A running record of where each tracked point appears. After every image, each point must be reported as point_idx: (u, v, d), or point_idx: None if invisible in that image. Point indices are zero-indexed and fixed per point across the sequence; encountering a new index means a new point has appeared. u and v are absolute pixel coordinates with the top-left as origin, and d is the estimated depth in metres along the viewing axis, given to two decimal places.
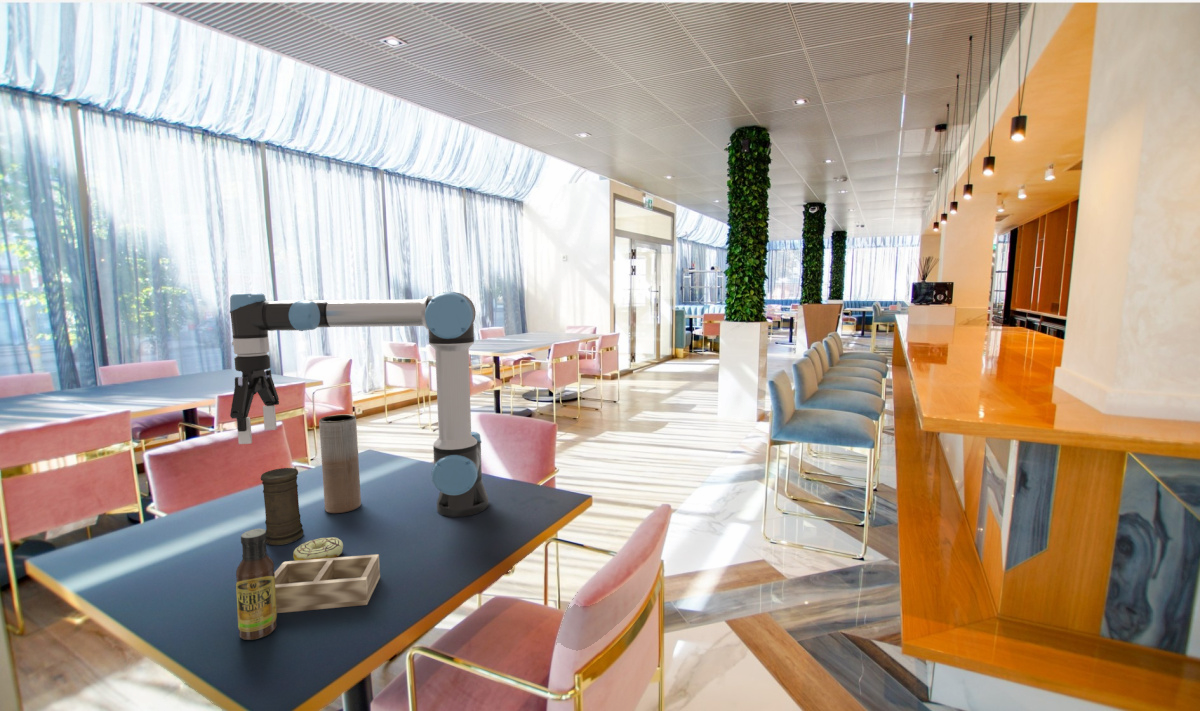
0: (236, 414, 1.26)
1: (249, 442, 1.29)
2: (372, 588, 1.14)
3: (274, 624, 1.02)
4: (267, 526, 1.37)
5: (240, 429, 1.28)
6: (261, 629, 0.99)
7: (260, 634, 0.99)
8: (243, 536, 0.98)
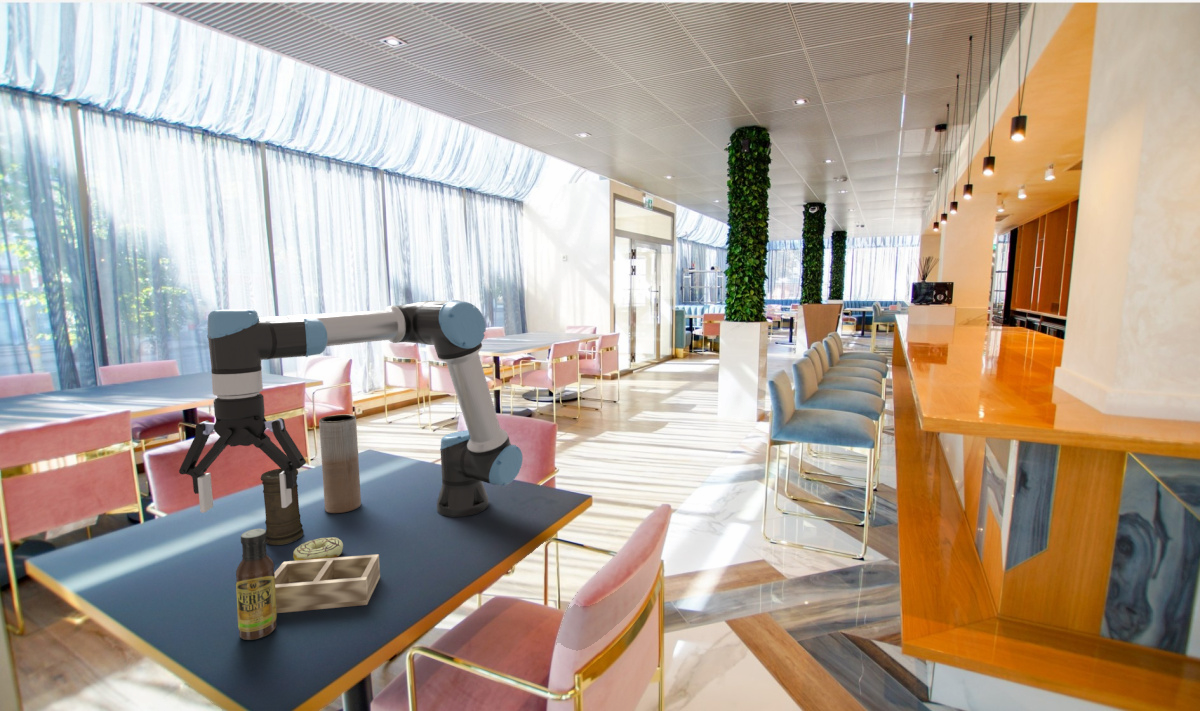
0: None
1: None
2: (372, 588, 1.14)
3: (274, 624, 1.02)
4: (267, 526, 1.37)
5: None
6: (261, 629, 0.99)
7: (260, 634, 0.99)
8: (243, 536, 0.98)
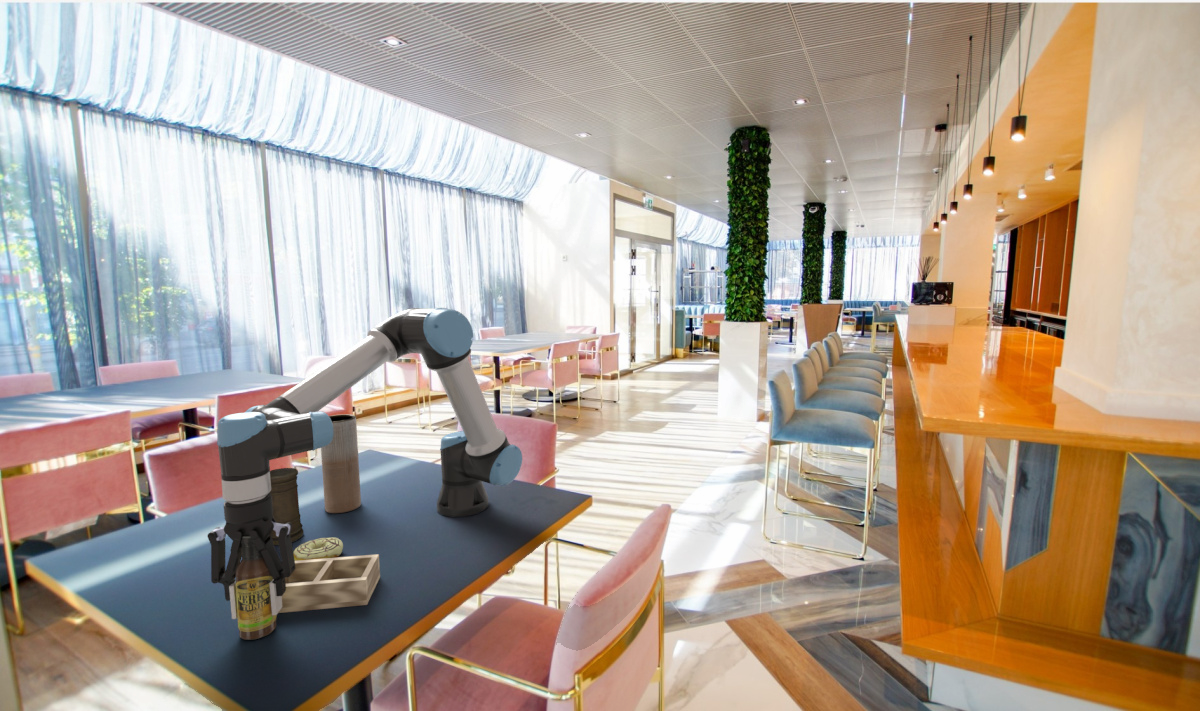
0: None
1: None
2: (372, 588, 1.14)
3: (274, 624, 1.02)
4: None
5: None
6: (261, 629, 0.99)
7: (260, 634, 0.99)
8: None
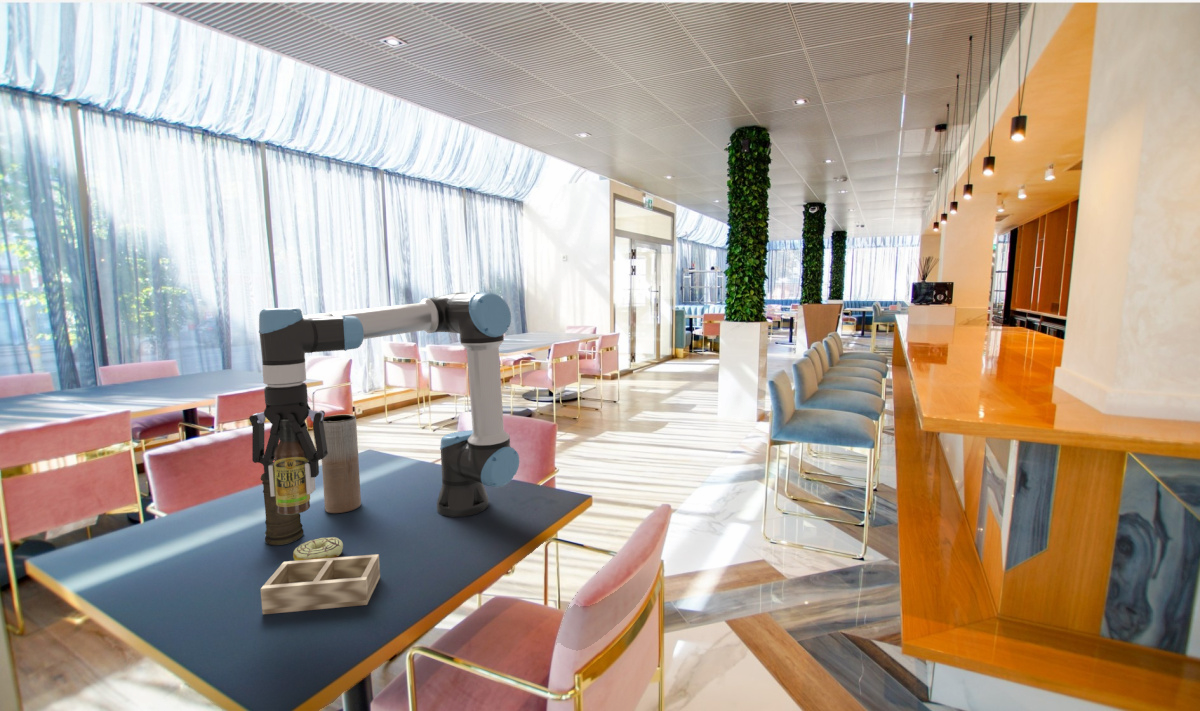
0: None
1: None
2: (372, 588, 1.14)
3: (308, 504, 1.11)
4: (267, 526, 1.37)
5: None
6: (297, 505, 1.09)
7: (296, 510, 1.08)
8: None
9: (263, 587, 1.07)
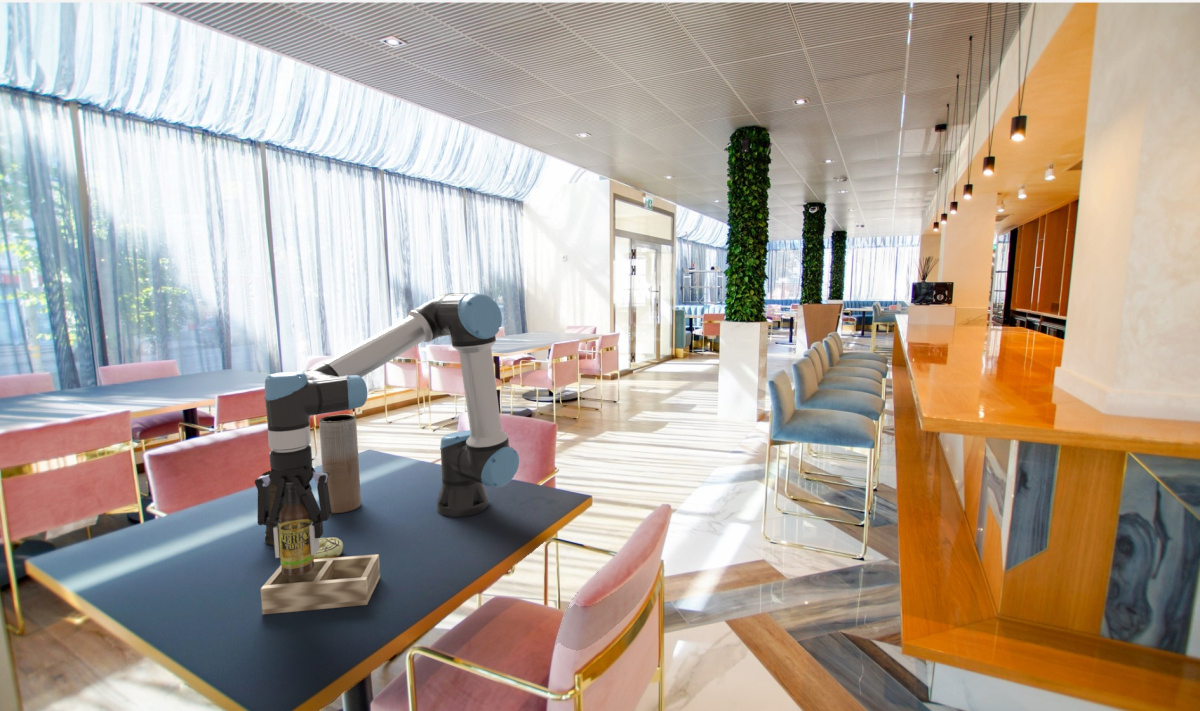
0: None
1: None
2: (372, 588, 1.14)
3: (312, 564, 1.13)
4: (267, 526, 1.37)
5: None
6: (301, 566, 1.10)
7: (301, 571, 1.10)
8: None
9: (263, 587, 1.07)
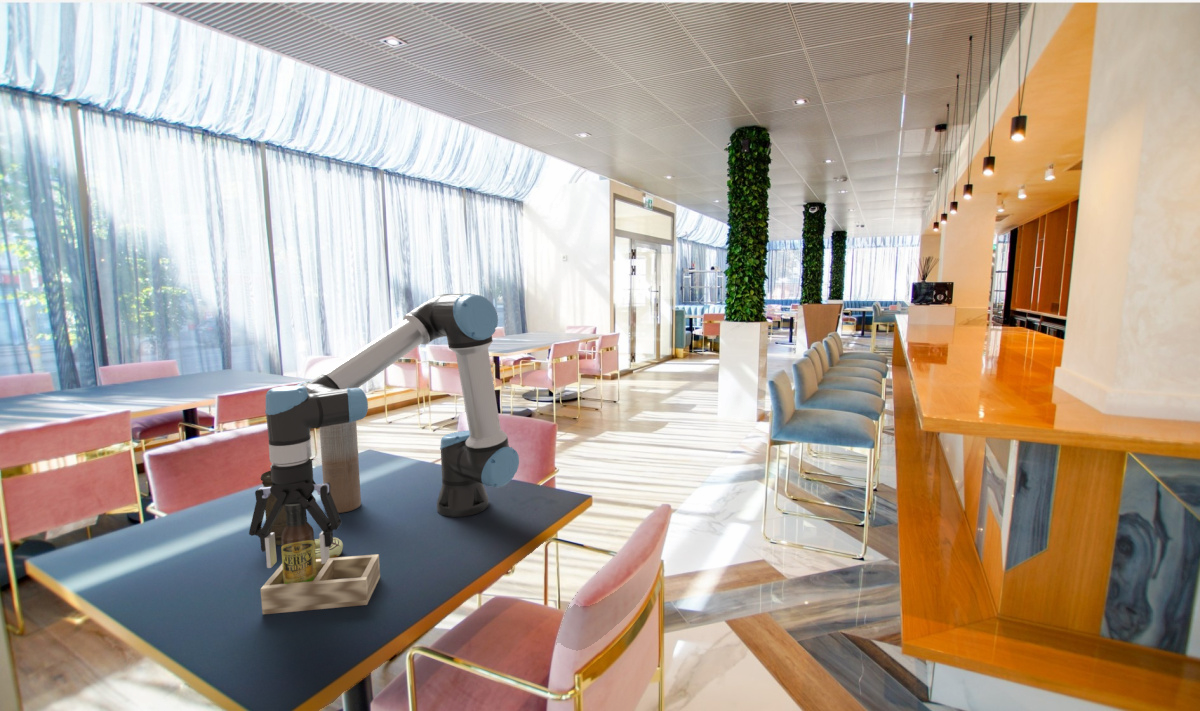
0: None
1: None
2: (372, 588, 1.14)
3: None
4: None
5: None
6: None
7: None
8: (287, 504, 1.09)
9: (263, 587, 1.07)
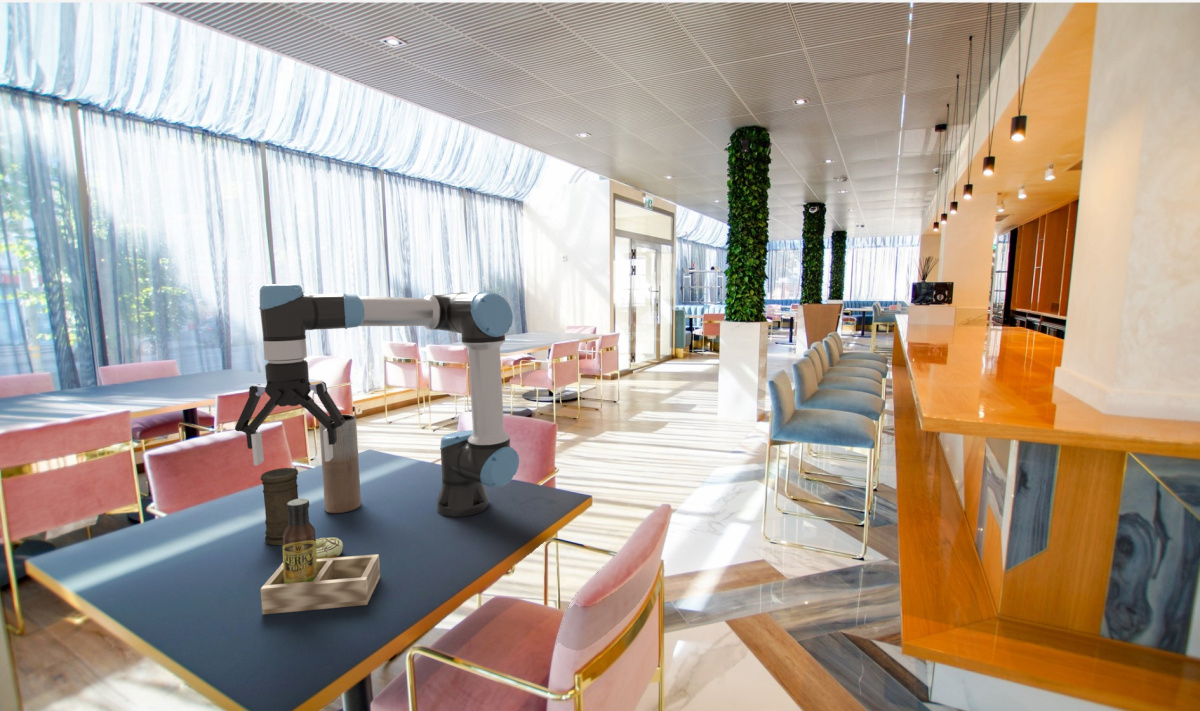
0: None
1: None
2: (372, 588, 1.14)
3: None
4: (267, 526, 1.37)
5: None
6: None
7: None
8: (289, 504, 1.10)
9: (263, 587, 1.07)
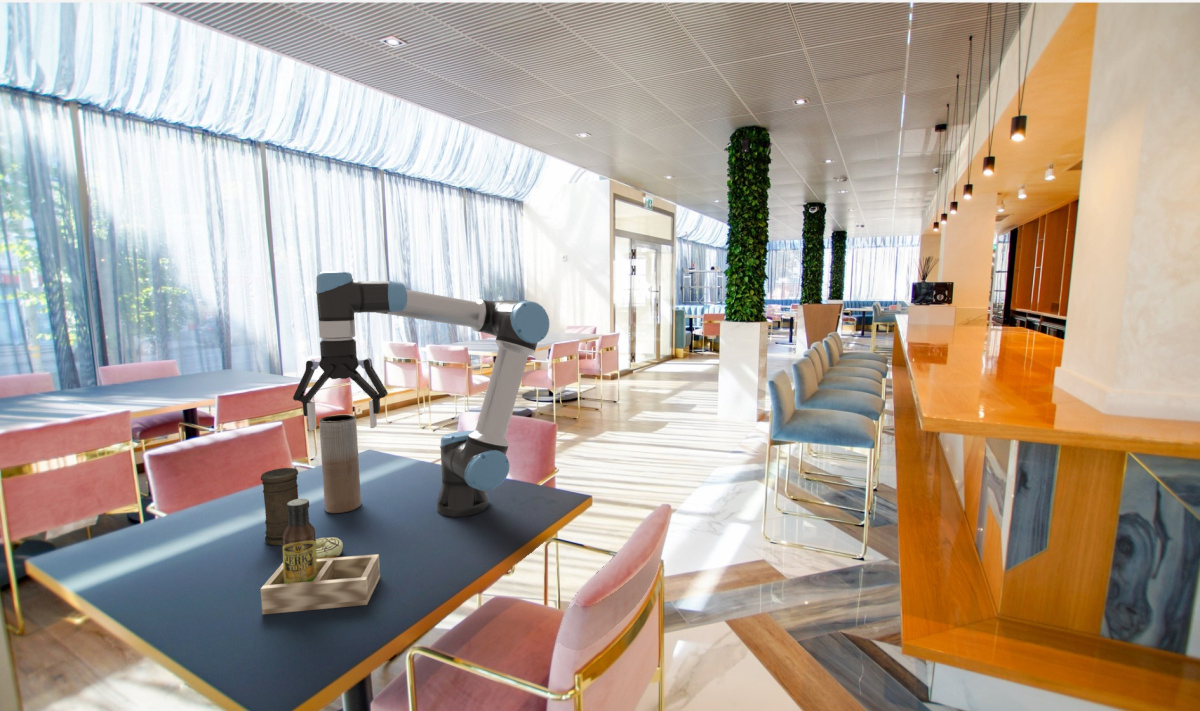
0: None
1: None
2: (372, 588, 1.14)
3: None
4: (267, 526, 1.37)
5: None
6: None
7: None
8: (289, 504, 1.10)
9: (263, 587, 1.07)
